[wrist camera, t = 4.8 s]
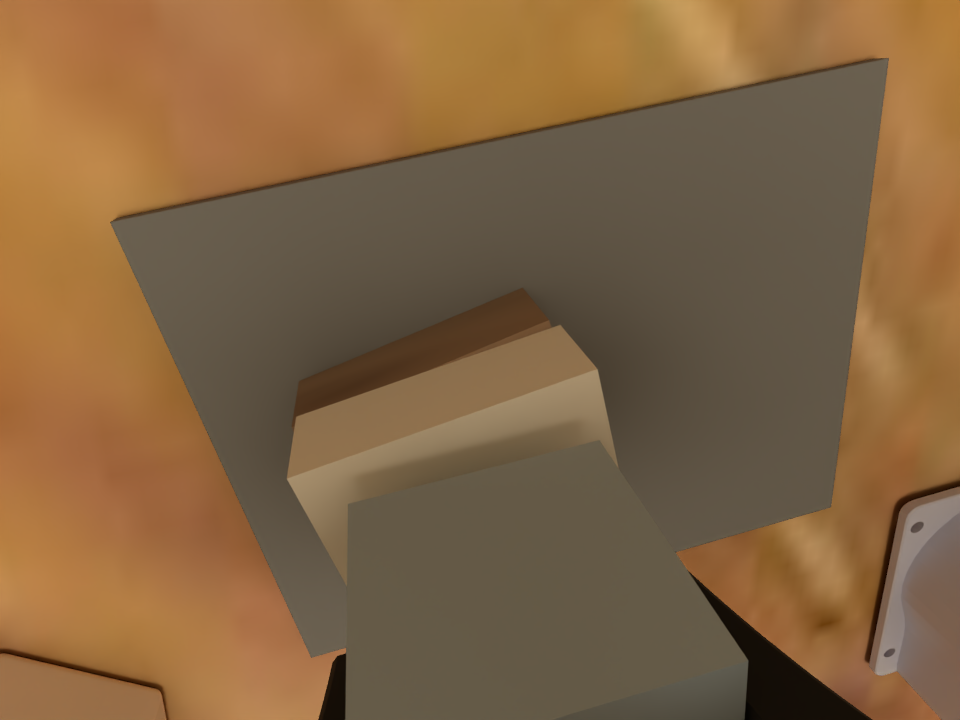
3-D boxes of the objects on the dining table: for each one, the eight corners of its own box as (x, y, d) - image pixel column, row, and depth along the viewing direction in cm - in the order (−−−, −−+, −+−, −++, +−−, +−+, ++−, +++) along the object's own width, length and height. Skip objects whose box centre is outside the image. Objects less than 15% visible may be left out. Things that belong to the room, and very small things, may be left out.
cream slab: (607, 522, 16) (643, 585, 14) (391, 601, 15) (397, 677, 14) (560, 324, 13) (597, 369, 11) (296, 416, 13) (286, 478, 11)
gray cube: (614, 613, 13) (735, 863, 9) (405, 673, 12) (431, 964, 8) (599, 440, 11) (747, 661, 7) (347, 503, 10) (344, 781, 6)
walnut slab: (583, 465, 18) (613, 513, 16) (396, 544, 18) (402, 603, 16) (522, 287, 15) (548, 319, 13) (298, 381, 15) (291, 428, 13)
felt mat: (822, 499, 21) (830, 507, 21) (312, 646, 19) (311, 657, 19) (875, 58, 15) (888, 58, 14) (116, 217, 13) (110, 221, 12)
